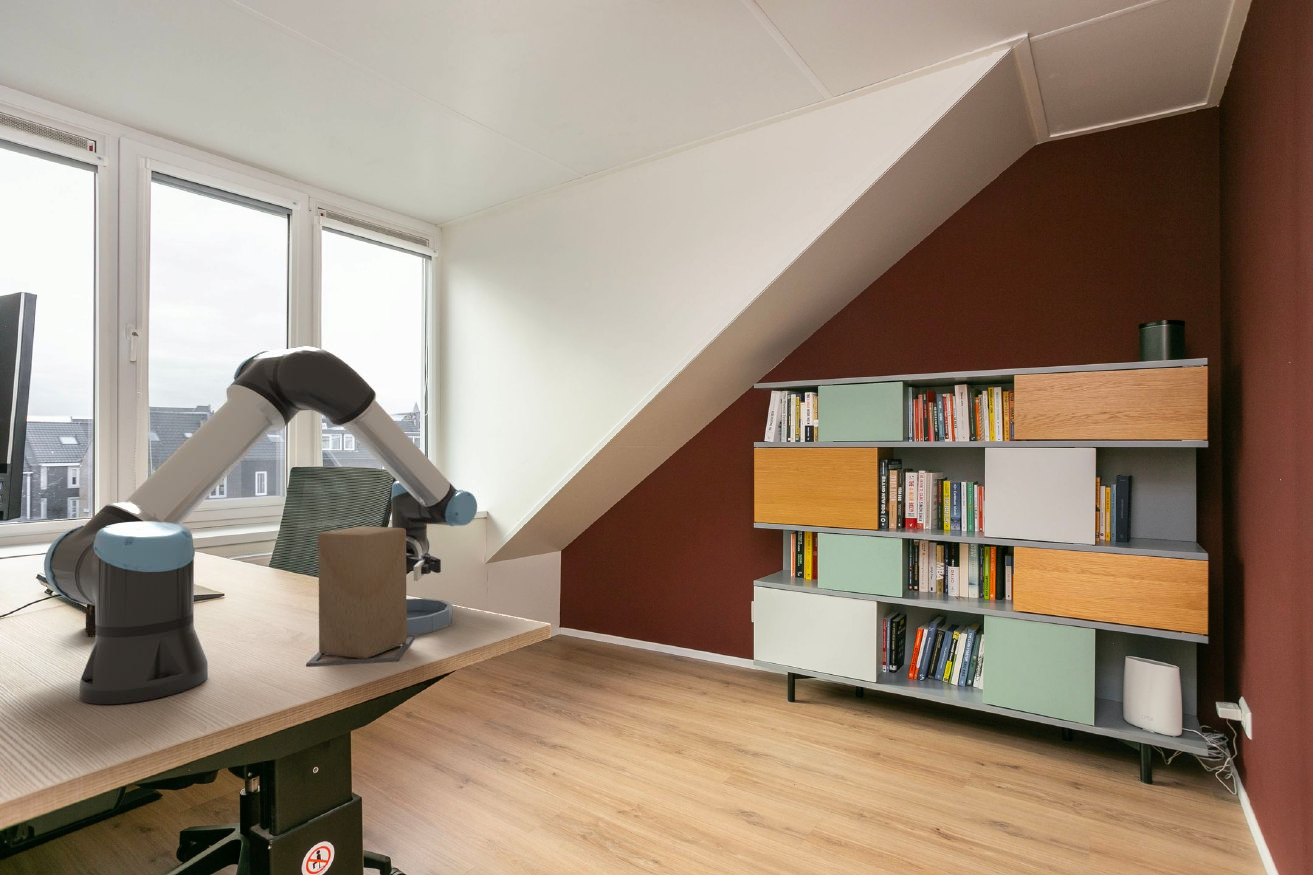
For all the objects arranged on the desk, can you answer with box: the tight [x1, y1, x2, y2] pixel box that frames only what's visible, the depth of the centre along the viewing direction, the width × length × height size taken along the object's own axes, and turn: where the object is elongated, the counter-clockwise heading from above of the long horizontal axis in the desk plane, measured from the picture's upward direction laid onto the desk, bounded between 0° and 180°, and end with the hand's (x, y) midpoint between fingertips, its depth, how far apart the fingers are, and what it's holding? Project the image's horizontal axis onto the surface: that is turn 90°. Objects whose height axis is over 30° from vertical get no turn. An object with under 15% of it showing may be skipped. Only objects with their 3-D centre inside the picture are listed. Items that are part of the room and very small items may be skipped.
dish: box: [406, 598, 453, 636], centre depth 138 cm, size 18×18×3 cm
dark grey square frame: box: [305, 635, 416, 667], centre depth 121 cm, size 14×14×1 cm
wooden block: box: [318, 525, 407, 659], centre depth 121 cm, size 10×10×20 cm
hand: (377, 575), depth 130 cm, fingers open, 13 cm apart
